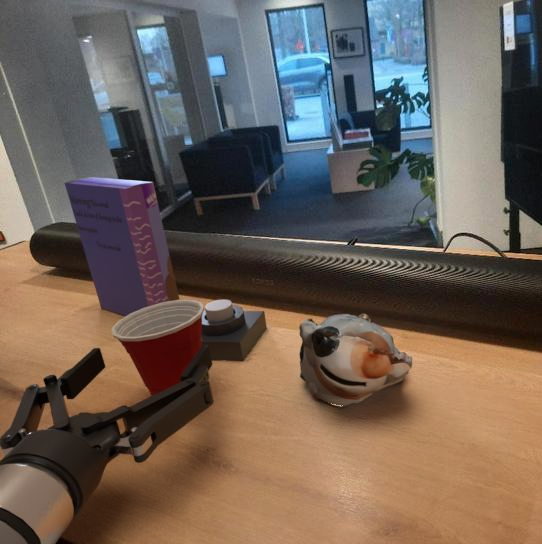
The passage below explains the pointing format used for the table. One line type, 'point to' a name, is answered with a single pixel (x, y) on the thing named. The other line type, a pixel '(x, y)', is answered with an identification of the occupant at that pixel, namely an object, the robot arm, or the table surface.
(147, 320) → the plastic cup
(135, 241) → the cereal box
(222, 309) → the white push button
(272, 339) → the table surface
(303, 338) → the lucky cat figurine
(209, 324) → the push button base
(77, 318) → the table surface
